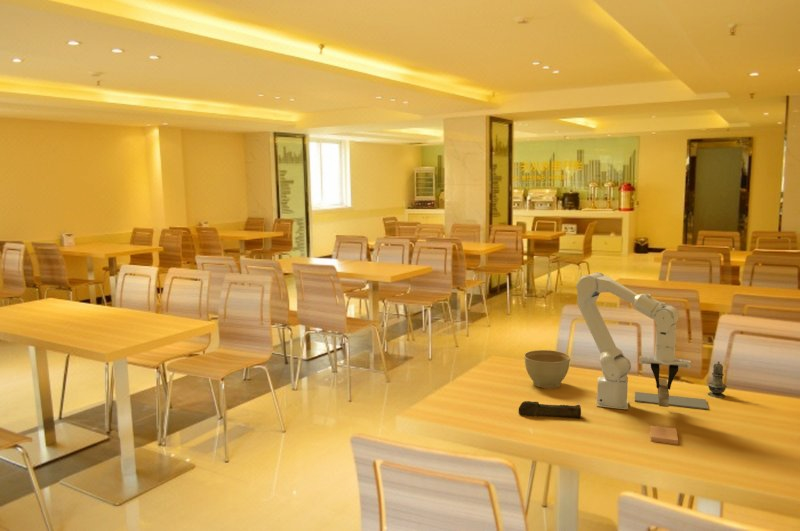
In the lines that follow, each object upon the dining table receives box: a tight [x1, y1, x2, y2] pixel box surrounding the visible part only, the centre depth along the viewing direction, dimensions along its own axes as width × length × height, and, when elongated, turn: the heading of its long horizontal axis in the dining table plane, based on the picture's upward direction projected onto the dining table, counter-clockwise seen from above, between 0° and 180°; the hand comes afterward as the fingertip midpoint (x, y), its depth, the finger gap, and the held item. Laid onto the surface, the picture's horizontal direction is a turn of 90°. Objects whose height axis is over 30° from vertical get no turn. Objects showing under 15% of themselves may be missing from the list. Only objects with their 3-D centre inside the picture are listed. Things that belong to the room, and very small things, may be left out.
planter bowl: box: [523, 349, 571, 389], centre depth 220 cm, size 16×16×11 cm
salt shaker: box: [707, 361, 728, 399], centre depth 208 cm, size 6×6×12 cm
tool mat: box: [634, 391, 709, 411], centre depth 203 cm, size 22×9×1 cm, turn 69°
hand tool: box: [518, 400, 582, 420], centre depth 191 cm, size 19×4×5 cm, turn 80°
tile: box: [649, 425, 679, 446], centre depth 174 cm, size 7×2×9 cm
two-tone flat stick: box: [657, 378, 670, 408], centre depth 189 cm, size 2×16×4 cm, turn 159°
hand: (663, 388), depth 189 cm, fingers closed on two-tone flat stick, 2 cm apart
